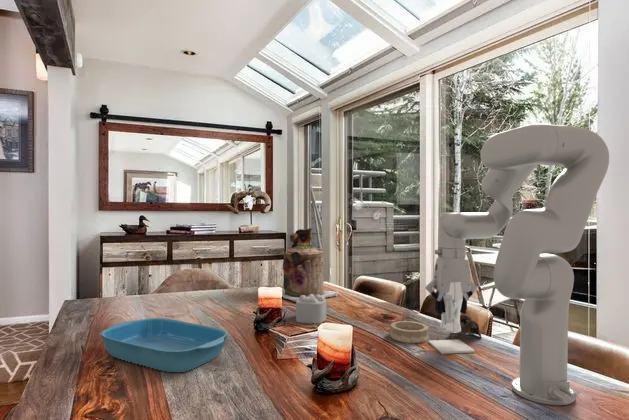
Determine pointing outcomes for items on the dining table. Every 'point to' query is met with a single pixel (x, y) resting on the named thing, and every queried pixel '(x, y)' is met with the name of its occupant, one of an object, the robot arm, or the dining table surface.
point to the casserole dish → (164, 343)
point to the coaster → (451, 346)
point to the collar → (409, 331)
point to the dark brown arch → (467, 326)
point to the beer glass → (452, 308)
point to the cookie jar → (303, 268)
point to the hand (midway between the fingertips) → (450, 312)
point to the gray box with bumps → (311, 309)
